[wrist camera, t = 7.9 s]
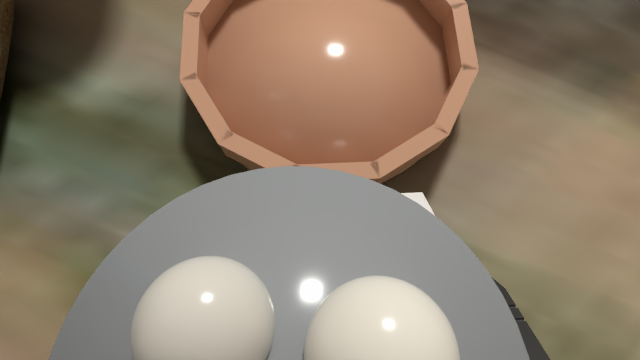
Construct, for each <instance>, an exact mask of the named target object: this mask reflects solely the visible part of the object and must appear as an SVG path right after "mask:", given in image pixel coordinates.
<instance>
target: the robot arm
mask: <svg viewBox="0 0 640 360" xmlns="http://www.w3.org/2000/svg"><path fill="white" fill-rule="evenodd" d="M401 194H403V195H404V196H406V197H408V198H410V199H411V200H413V201H415V202H417V203H418V204H420V205H421V206H422V207H424V208H425V209H426V210H428V211H429V212H430V213H432V214H433V215H434V213H433V211H432V209H431V207H430V206H429V204H428V202H427V200H426V198H425V196H424V194H423V193H422V192H418V193H401ZM434 216H435V215H434ZM492 279H493V278H492ZM493 280H494V279H493ZM494 282H495V284H496V285H497V287H498V288H499V290H500V291H501V293H502V294H503V296H504V298H505V301H506V303H507V305H508V307H509V309H510V311H511V313H512V315H513V317H514V319H515V321H516V323H517V325H518V328H519V331H520V333H521V336H522V339H523V342H524V344H525V347H526V350H527V353H528V356H529V359H530V360H550V358H549V357H548V355H547V354H546V352H545V350H544V349H543V347H542V346H541V344H540V343H539V341H538V339H537V338H536V336H535V335H534V333H533V332H532V330H531V328H530V327H529V325H528V324H527V322H526V321H524V317H523V316H522V314H521V313H520V311H519V309H518V308H516V306H515V303H514V302H513V300H512V298H511V297H510V295H509V294H508V292H507V291H506V289H505V288H504V287H503V286H501V285H500V284H499V283H498V282H497V281H496V280H494Z"/></svg>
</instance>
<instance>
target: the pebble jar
mask: <svg viewBox="0 0 640 360" xmlns="http://www.w3.org/2000/svg"><path fill="white" fill-rule="evenodd" d="M49 360H530V359H529V356H528V353H527V350H526V347H525V344H524V342H523V339H522V336H521V333H520V331H519V328H518V325H517V323H516V321H515V319H514V317H513V315H512V313H511V311H510V309H509V307H508V305H507V303H506V301H505V298H504V296H503V294H502V293H501V291H500V290H499V288H498V287H497V285H496V284H495V282H494V280H493V279H492V277H491V276H490V274H489V273H488V271H487V270H486V268H485V267H484V265H483V264H482V263H481V262H480V261H479V259H478V258H477V257H476V256H475V255H474V253H473V252H472V251H471V250H470V248H469V247H468V246H467V245H466V244H465V242H463V241H462V240H461V239H460V238H459V237H458V236H457V235H456V234H455V233H454V232H453V231H452V230H451V229H450V228H449V227H448V226H447V225H446V224H445V223H444V222H442V221H441V220H440V219H438V218H437V217H436V216H434V215H433V214H432V213H430V212H429V211H428V210H426V209H425V208H424V207H422V206H421V205H420V204H418V203H417V202H415V201H413V200H411V199H410V198H408V197H406V196H404V195H403V194H401V193H399V192H397V191H396V190H394V189H391V188H389V187H387V186H384V185H382V184H380V183H377V182H375V181H373V180H370V179H368V178H364V177H361V176H357V175H354V174H350V173H346V172H343V171H338V170H331V169H325V168H318V167H302V166H281V167H271V168H261V169H255V170H250V171H246V172H241V173H237V174H233V175H229V176H226V177H223V178H220V179H218V180H215V181H212V182H209V183H206V184H204V185H201V186H199V187H197V188H195V189H193V190H191V191H189V192H187V193H185V194H183V195H181V196H179V197H177V198H176V199H174V200H173V201H171V202H170V203H168V204H167V205H165V206H164V207H162V208H160V209H159V210H157V211H156V212H154V213H153V214H151V215H150V216H149V217H148V218H147V219H145V220H144V221H143V222H142V223H141V224H139V225H138V226H137V227H136V228H135V229H133V230H132V231H131V232H130V233H129V234H127V235H126V236H125V238H124V239H123V240H122V241H121V242H120V243H119V244H118V245H117V246H116V247H115V248H114V249H113V250H112V251H111V252H110V253H109V254H108V256H107V257H106V258H105V259H104V260H103V261H102V263H101V264H100V265H99V267H98V268H97V269H96V271H95V272H94V273H93V275H92V276H91V277H90V279H89V280H88V281H87V283H86V284H85V285H84V287H83V289H82V291H81V292H80V294H79V296H78V297H77V299H76V301H75V302H74V304H73V306H72V308H71V309H70V311H69V313H68V314H67V316H66V319H65V321H64V323H63V325H62V328H61V330H60V332H59V334H58V337H57V339H56V341H55V343H54V345H53V348H52V351H51V354H50V357H49Z"/></svg>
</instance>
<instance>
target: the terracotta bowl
mask: <svg viewBox="0 0 640 360" xmlns="http://www.w3.org/2000/svg"><path fill="white" fill-rule="evenodd" d="M478 70H479V67H478V61H477V56H476V50H475V45H474V39H473V34H472V28H471V23H470V17H469V12H468V6H467V3H466V2H465V0H193V1H192V2H191V3H190V5H189V6H188V7H187V9H186V10H185V12H184V19H183V35H182V50H181V65H180V82H181V83H182V85H183V87H184V88H185V90H186V92H187V93H188V95H189V97H190V98H191V100H192V102H193V103H194V105H195V107H196V108H197V110H198V112H199V113H200V115H201V117H202V118H203V120H204V121H205V123H206V125H207V126H208V128H209V130H210V131H211V133H212V135H213V136H214V138H215V140H216V141H217V143H218V145H219V146H220V148H221V149H222V150H223V152H224V153H225V155H226V156H227V157H229V158H231V159H233V160H235V161H237V162H239V163H241V164H242V165H243V166H244V167H246V168H247V169H249V170H255V169H261V168H271V167H281V166H302V167H318V168H325V169H331V170H338V171H343V172H346V173H350V174H354V175H357V176H361V177H364V178H368V179H370V180H373V181H375V182H377V183H380V184H381V183H383V182H385V181H388V180H390V179H392V178H393V177H395V176H397V175H399V174H401V173H403V172H404V171H406V170H407V169H408V168H410V167H411V166H412V165H414V164H415V163H416V162H418V161H419V160H420V159H421V158H422V157H424V156H426V155H427V154H429V153H430V152H432V151H434V150H435V149H437V148H438V147H439V146H440V145H441V144H442V142H443V141H444V140H445V139H446V138H447V137H448V135H449V134H450V132H451V129H452V127H453V125H454V123H455V121H456V118H457V116H458V114H459V112H460V110H461V108H462V105H463V103H464V101H465V99H466V97H467V94H468V92H469V90H470V88H471V86H472V84H473V81H474V79H475V77H476V75H477V73H478Z"/></svg>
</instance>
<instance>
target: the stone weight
mask: <svg viewBox="0 0 640 360" xmlns="http://www.w3.org/2000/svg"><path fill="white" fill-rule="evenodd" d="M13 17H14V0H0V100H1V95H2V90H3V86H4V79H5V73H6V68H7V63H8V56H9V50H10V42H11V36H12V27H13Z"/></svg>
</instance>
